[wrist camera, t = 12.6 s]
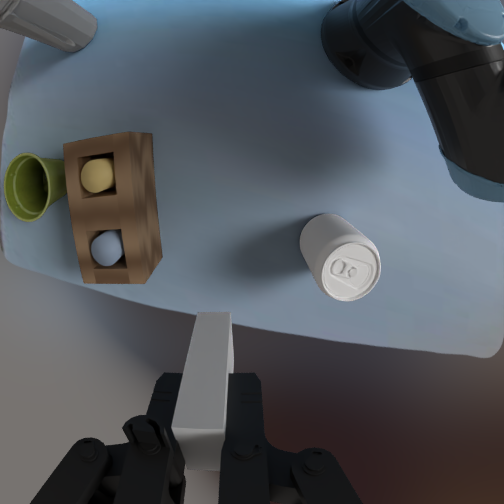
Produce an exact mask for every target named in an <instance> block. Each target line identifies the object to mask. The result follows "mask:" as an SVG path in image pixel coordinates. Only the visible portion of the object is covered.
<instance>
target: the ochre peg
mask: <svg viewBox="0 0 504 504" xmlns="http://www.w3.org/2000/svg"><path fill="white" fill-rule="evenodd" d="M81 181H82V184H83V186H84V187H85V189H86V190H88V191H89V192H92V193H97V192H100V191H103V190H105V189H108V188H111V187H113V186H116V179H115V167H114V157H109V158H103V159H96V160H91V161H89V162H87V163H86V164H85V165H84V167H83V169H82V172H81Z"/></svg>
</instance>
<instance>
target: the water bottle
mask: <svg viewBox="0 0 504 504" xmlns="http://www.w3.org/2000/svg"><path fill="white" fill-rule="evenodd" d="M0 28H2V29H6V30H9V31H12V32H14V33H17V34H20V35H23V36H26V37H29V38H31V39H34V40H37V41H40V42H42V43H45V44H47V45H50V46H52V47H55V48H57V49H60V50H62V51H65V52H76V51H78V50H80V49H82V48H84V47H85V46H86V45H87V44H88V43H89V42H90V41H91V40H92V39H93V37H94V34H95V32H96V30H97V19H96V18H95V17H94V16H93V15H92V14H91V13H89V12H88V11H86V10H85V9H84V8H82V7H81V6H79V5H78V4H77V3H75V2H74V1H72V0H0Z"/></svg>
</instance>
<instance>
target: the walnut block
mask: <svg viewBox="0 0 504 504" xmlns="http://www.w3.org/2000/svg"><path fill="white" fill-rule="evenodd" d="M63 150H64V164H65V176H66V186H67V194H68V202H69V209H70V216H71V223H72V229H73V234H74V240H75V245H76V250H77V255H78V260H79V265H80V269H81V274H82V278H83V282H84V283H94V284H145V283H146V281H147V280H148V278H149V277H150V275H151V274H152V272H153V271H154V269H155V268H156V266H157V265H158V263H159V262H160V260H161V259H162V249H161V240H160V231H159V222H158V212H157V201H156V189H155V176H154V160H153V140H152V134H151V133H139V132H124V133H117V134H111V135H106V136H100V137H95V138H89V139H84V140H79V141H75V142H70V143H66V144H63ZM109 157H114V167H115V179H116V186H113V187H111V188H108V189H105V190H103V191H100V192H97V193H92V192H89V191H88V190H86V189H85V187H84V186H83V184H82V181H81V172H82V169H83V167H84V165H85V164H86V163H87V162H89V161H91V160H96V159H103V158H109ZM112 229H121V232H122V238H123V245H124V251H125V253H124V254H123V255H122V256H121V257H120V258H119V259H118V260H117V261H116V262H115V263H114V264H113V265H111V266H103V265H101V264H99V263H98V262H97V261H96V260H95V259H94V257H93V255H92V252H91V246H92V243H93V241H94V240H95V239H96V238H97V237H98V236H100V235H101V234H103V233H104V232H105V231H107V230H112Z"/></svg>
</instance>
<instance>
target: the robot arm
mask: <svg viewBox="0 0 504 504" xmlns="http://www.w3.org/2000/svg"><path fill="white" fill-rule="evenodd" d="M321 39H322V43H323V47H324V49H325V52H326V54H327V56H328V57H329V59H330V61H331V62H332V63H333V65H334V66H335V67H336V68H337V69H338V70H339V71H340V72H341V73H342V74H343V75H344V76H346V77H347V78H348V79H350V80H351V81H353V82H355V83H357V84H359V85H361V86H364V87H367V88H371V89H377V90H385V89H391V88H394V87H398V86H401V85H403V84H405V83H406V82H408V81H409V80H411V79H412V78H413V79H414V82H415V84H416V87H417V89H418V91H419V93H420V96H421V98H422V100H423V103H424V105H425V107H426V110H427V112H428V115H429V118H430V120H431V123H432V125H433V128H434V131H435V134H436V136H437V139H438V142H439V149H440V152H441V155H442V156H443V157H444V159H445V161H446V164H447V167H448V170H449V173H450V176H451V178H452V180H453V181H454V183H455V184H457V185H458V187H459V188H460V189H461V190H462V191H464V192H465V193H467V194H469V195H471V196H473V197H476V198H479V199H482V200H487V201H492V202H504V50H503V48H502V45H501V42H502V40H503V39H504V8H503V6H502V4H501V2H500V0H341V1H339V2H338V3H336V4H335V5H334V6H333V7H332V8H331V9H330V11H329V12H328V13H327V15H326V16H325V18H324V20H323V23H322V28H321ZM233 366H234V354H233V339H232V326H231V312H198V314H197V318H196V322H195V326H194V330H193V334H192V338H191V343H190V347H189V351H188V355H187V359H186V364H185V368H184V373H163V375H162V376H161V377H160V378H159V379H158V380H157V381H156V384H155V388H154V392H153V394H152V397H151V401H150V404H149V407H148V410H147V413H146V415H139V416H136V417H133V418H131V419H129V420H128V421H127V422H126V423H125V424H124V426H123V427H122V429H123V431H124V433H125V435H126V436H127V438H128V440H129V442H128V443H123V444H116V445H106V446H105V445H104V443H102V442H101V441H100V440H98V439H95V438H83V439H81V440H79V441H77V442H76V443H75V444H74V445H73V446H72V448H71V449H70V450H69V452H68V453H67V454H66V455H65V457H64V458H63V459H62V461H61V462H60V464H59V465H58V466H57V467H56V469H55V470H54V471H53V473H52V474H51V475H50V477H49V478H48V480H47V481H46V482H45V484H44V485H43V486H42V488H41V489H40V491H39V492H38V493H37V495H36V496H35V497H34V499H33V500H32V501H31V503H30V504H184V495H185V487H186V480H185V476H184V468H185V464H186V467H187V469H190V470H206V471H220V481H219V482H220V483H219V501H218V502H219V503H218V504H270V501H273V502H277V503H282V504H363V503H362V502H361V500H360V498H359V497H358V495H357V493H356V492H355V490H354V489H353V487H352V485H351V483H350V482H349V480H348V478H347V477H346V475H345V473H344V472H343V470H342V468H341V467H340V465H339V463H338V462H337V460H336V458H335V457H334V456H333V455H332V454H331V453H330V452H329V451H327V450H325V449H321V448H315V447H314V448H308V449H304V450H302V451H300V452H298V453H292V452H287V451H283V450H279V449H277V448H275V447H273V446H272V445H271V444H270V443H269V442H268V441H267V439H266V438H265V433H264V420H263V405H262V392H261V381H260V380H259V378H258V377H257V375H256V374H255V373H233Z"/></svg>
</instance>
